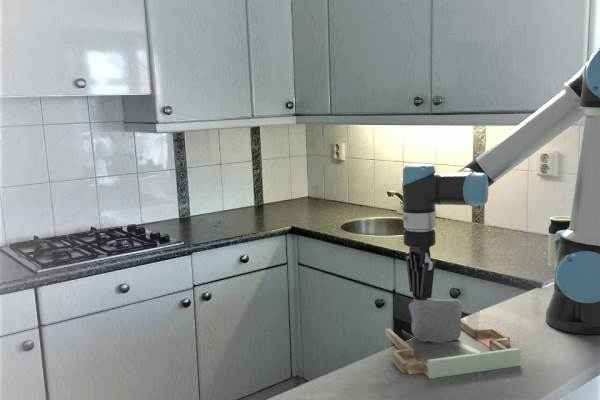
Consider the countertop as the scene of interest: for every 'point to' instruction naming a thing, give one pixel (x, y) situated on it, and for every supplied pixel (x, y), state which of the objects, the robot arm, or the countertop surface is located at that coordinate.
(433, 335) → the stone block
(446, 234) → the countertop surface
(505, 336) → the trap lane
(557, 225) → the travel mug
